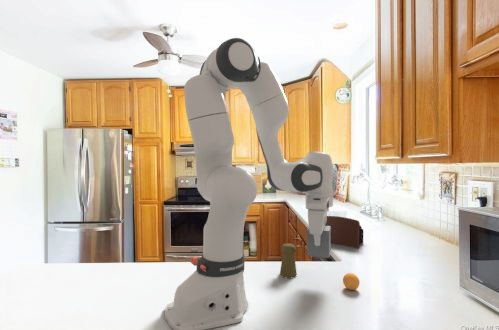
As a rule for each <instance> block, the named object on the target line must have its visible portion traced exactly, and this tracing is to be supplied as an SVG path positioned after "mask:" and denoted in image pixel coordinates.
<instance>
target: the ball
mask: <svg viewBox="0 0 499 330" xmlns="http://www.w3.org/2000/svg"><path fill="white" fill-rule="evenodd" d="M342 282H343V283H342V284H343V286H344V287H345V288H346V289H347V290H351V291H354V290H356V289H358V288H359V286H360V278H359V277H358V275H356V274H355V273H352V272H347V273H346V274H344V275H343V279H342Z"/></svg>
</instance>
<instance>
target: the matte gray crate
mask: <svg viewBox="0 0 499 330" xmlns="http://www.w3.org/2000/svg"><path fill="white" fill-rule="evenodd" d="M320 239H321V244H320V246H315V244H314V235H313V234H310V232H309V226H308V227H307V228H306V256H307V257H314V258H321V259H323V258H324V259H330V256H331V253H332V251H331V249H332V248H331V247H332V246H331V244H332V243H331V226H325V227H324V229H323V232H322V234H321V238H320Z"/></svg>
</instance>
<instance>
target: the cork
mask: <svg viewBox="0 0 499 330" xmlns="http://www.w3.org/2000/svg"><path fill="white" fill-rule="evenodd" d="M296 252H297V247H296V245H294V244H293V243H283V244H282V246H281V253H282V257H281V262H280V263H281V264H280V271H279V276H280V277H282V276H283V277H282V278H284V277H287V278H286V279H292V278H291V277H295V276H296V275H297V265H296V257H295V254H296ZM297 276H298V275H297ZM297 276H296V277H297ZM296 277H295V278H296Z"/></svg>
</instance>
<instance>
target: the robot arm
mask: <svg viewBox="0 0 499 330" xmlns="http://www.w3.org/2000/svg"><path fill="white" fill-rule="evenodd" d="M234 88H237V89H239V90H240V92H241V93H242V94H243V96H244V97H245V99H246V102H247V105H248V107H249V108H250V109H249V110H250V112H251V114H252V117H253V121H254V124H255V130H256V135H257V140H258V142H259V145H260V150H261V152H262V155H263V158H264V161H265V165H266V172H267V173H266V175H267V180H268V183H269V186H271V187H272V188H273V190H276V191H283V192H284V191H287V192H294V193H305V209H306V210H307V221H308V222H307V223H308V227H309V232H310V234H313V235H314V244H315V246H320V244H321V239H320V238H321V234H322V232H323V229H324V227H325V225H326V222H327V216H328V212H329V211H330V208H332V207H333V205H334V198H333V197H334V191H333V187H332V185H333V184H332V183H333V180H334V169H333V168H334V167H333V162H332V161H333V160H332V158H331V157H332V156H331V155H330V154H328V153H326V152H322V151H309V152H308V153H307V155H305V156H304V157H302V158H301V159H298V160H296V161H293V162H291V161H289V162H288V161H287V160H286V159H285V158H284V155H283V153H282V149H281V146H280V142H279V140H278V136H279V135H278V134H279V131H280V129H281V128H282V127H283V126H284V125H285V123H286V122H287V119H288V117H289V114H290V109H289V103H288V100H287V99H288V98H287V97H286V95H285V93H284V89H283V87H282V84H281V83H280V81H279V78H278V77H277V75H276V73H275V72H274V71H273V69H272V67H271V66H270V65H269V64H268V63H266V62H263V61H261V59H260V57H259V56H258V55H257V52H256V51H255V49H254V47H253V46H252V45H251V44H250V43H249V42H248V41H246V40H245V39H243V38H240V37H234V38H233V37H232V38H229V39H227V40H225V41H223V42H221V43H220V45H219V46H218V47H217V48H216V49H214V50H212V52H211V53H210V54H209V55H208V56H207V57H206V60H205V61H204V62H203V63H202V65H201V68H200V70H199V74H197V75H194V76H192V77H190V78H189V79H188V80H187V81H186V82H185V84H184V89H183V91H184V93H183V94H184V95H183V97H184V105H185V106H184V107H185V113H186V117H187V121H188V126H189V131H190V136H191V140H192V143H193V149H194V155H195V168H196V169H195V170H196V189H197V191H198V193H199V194H200V196H201V197H202V198H203V199H204V200H205V201H207V202H209V204H210V205H209V211H208V217H207V219H206V222H205V224H204V226H203V234H202V235H203V239H202V240H203V245H202V247H203V248H202V251H203V252H202V255H201V257H200V258H198V257H197V256H192V257H191V258H190V264H192V265H193V266H195V267H196V269H195V271H194V272H193V273H192V274H191V275H189V276H188V277H187V278H186V279H185V280H183V282H182V283H180V284H179V285H178V286H177V288H176V289H175V293H174V299H173V302H170V303H168V304H166V306H165V308H164V317H165V320H166V323H167V324H168V326H169V327H170V328H171V329H173V330H209V329H215V328H219V327H223V326H228V325H231V324H232V325H233V324H238V323H241V322H242V321H243V318H244V314H245V312H247V310H248V308H249V303H248V302H249V301H248V299H247V295H246V289H245V283H244V282H245V280H244V272H245V254H244V229H245V228H244V227H245V223H246V218H247V215H248V211H249V208H250V206H251V205H252V204H253V202H254V201H255V199H256V197H257V195H258V182H257V180H256V178H255V177H254V175H252V174H251V173H250V172H249V171H247V170H245V169H244V168H241V167H237V166H233V161H232V160H233V147H234V144H235V138H234V133H233V128H232V124H231V120H230V119H231V118H230V114H229V110H228V106H227V102H226V101H227V100H226V96H227V95H226V93H227V92H228V91H229V90H231V89H234Z"/></svg>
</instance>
